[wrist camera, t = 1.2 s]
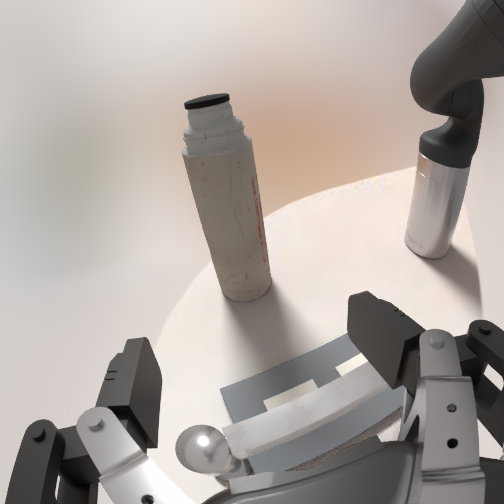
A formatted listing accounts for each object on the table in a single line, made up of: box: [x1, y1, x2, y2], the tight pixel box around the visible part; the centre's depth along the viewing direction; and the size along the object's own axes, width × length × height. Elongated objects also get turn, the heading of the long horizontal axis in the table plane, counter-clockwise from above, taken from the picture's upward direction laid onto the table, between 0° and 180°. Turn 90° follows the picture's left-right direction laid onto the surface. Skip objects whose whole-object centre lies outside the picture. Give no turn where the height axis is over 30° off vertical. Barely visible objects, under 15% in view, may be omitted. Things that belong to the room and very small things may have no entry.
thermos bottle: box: [182, 93, 271, 302], centre depth 35 cm, size 8×8×28 cm
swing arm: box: [175, 361, 389, 476], centre depth 19 cm, size 22×4×4 cm, turn 111°
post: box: [216, 458, 252, 481], centre depth 20 cm, size 4×4×7 cm
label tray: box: [220, 333, 406, 474], centre depth 27 cm, size 20×12×2 cm, turn 111°
